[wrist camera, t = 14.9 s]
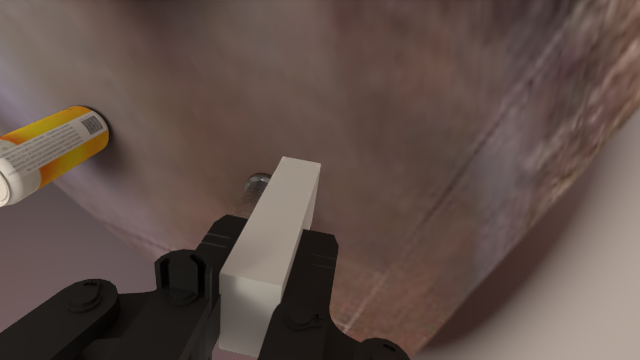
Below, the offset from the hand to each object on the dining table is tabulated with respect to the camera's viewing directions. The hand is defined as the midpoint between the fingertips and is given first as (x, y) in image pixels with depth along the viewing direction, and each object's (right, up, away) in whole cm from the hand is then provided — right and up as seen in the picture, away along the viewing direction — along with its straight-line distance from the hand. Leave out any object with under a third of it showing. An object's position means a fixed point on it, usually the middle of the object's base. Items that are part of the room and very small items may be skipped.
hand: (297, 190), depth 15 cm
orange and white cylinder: (-28, +7, +33) cm, 44 cm away
